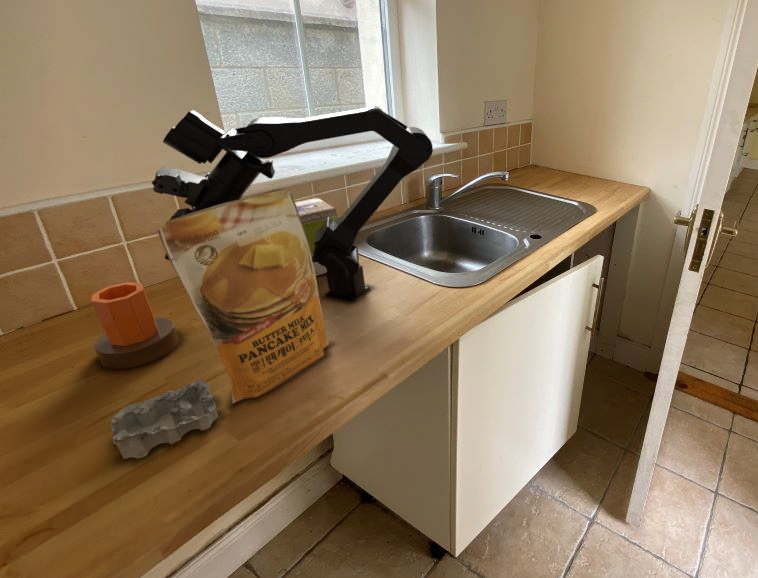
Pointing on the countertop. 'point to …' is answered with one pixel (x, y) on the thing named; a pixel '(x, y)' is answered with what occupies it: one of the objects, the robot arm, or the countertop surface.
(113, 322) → the orange faceted cup
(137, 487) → the countertop surface
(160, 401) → the egg carton
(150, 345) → the walnut ring base
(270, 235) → the pancake mix bag
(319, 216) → the tea box
